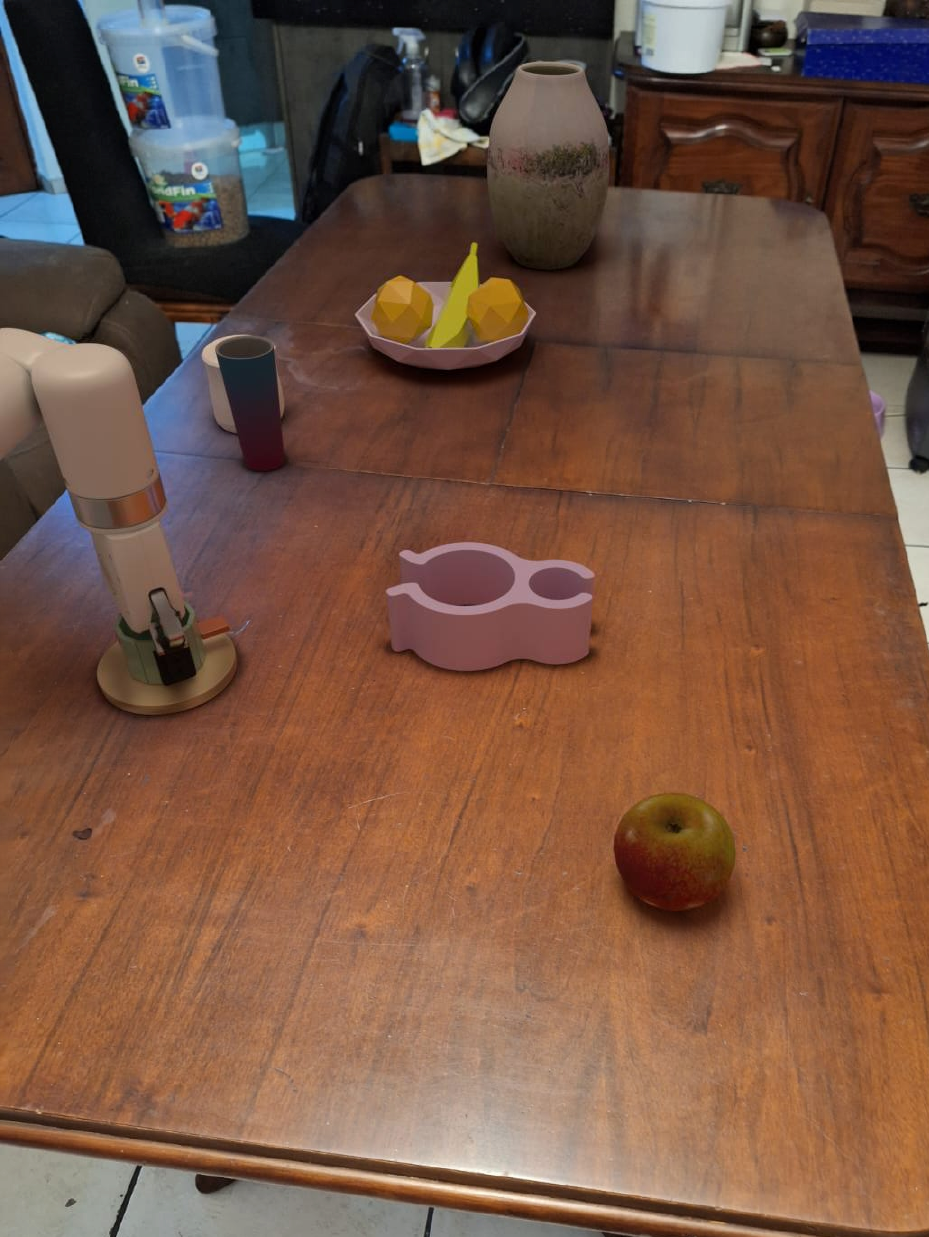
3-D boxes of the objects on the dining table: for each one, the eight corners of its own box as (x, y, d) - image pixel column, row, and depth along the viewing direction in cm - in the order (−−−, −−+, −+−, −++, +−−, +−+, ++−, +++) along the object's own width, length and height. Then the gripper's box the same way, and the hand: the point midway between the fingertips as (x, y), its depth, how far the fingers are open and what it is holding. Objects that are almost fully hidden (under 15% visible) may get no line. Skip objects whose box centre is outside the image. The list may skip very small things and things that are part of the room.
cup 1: (282, 398, 144) (271, 330, 137) (291, 431, 137) (280, 360, 130) (212, 406, 142) (197, 337, 135) (218, 440, 135) (203, 368, 128)
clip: (593, 605, 110) (596, 551, 105) (586, 680, 101) (589, 624, 96) (409, 592, 111) (404, 537, 106) (385, 665, 102) (379, 608, 97)
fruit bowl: (472, 405, 144) (470, 325, 136) (324, 359, 154) (314, 282, 146) (573, 339, 161) (576, 264, 154) (434, 301, 171) (430, 230, 164)
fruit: (589, 893, 81) (594, 827, 76) (641, 821, 87) (650, 755, 82) (698, 948, 78) (712, 882, 72) (745, 869, 84) (761, 803, 78)
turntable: (123, 733, 94) (120, 723, 93) (83, 657, 101) (80, 647, 101) (258, 684, 99) (255, 674, 98) (209, 615, 107) (207, 606, 106)
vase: (620, 250, 192) (634, 63, 171) (577, 287, 178) (585, 88, 157) (518, 232, 198) (519, 50, 178) (468, 267, 184) (462, 73, 163)
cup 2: (267, 480, 127) (246, 363, 117) (226, 465, 130) (202, 350, 120) (303, 457, 132) (285, 343, 122) (262, 443, 134) (242, 330, 124)
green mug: (141, 694, 96) (128, 652, 92) (118, 652, 100) (104, 611, 97) (243, 658, 100) (233, 617, 97) (216, 620, 104) (206, 579, 101)
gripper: (46, 464, 91) (100, 623, 103) (104, 558, 80) (157, 722, 92) (130, 443, 94) (173, 599, 106) (196, 530, 83) (236, 693, 95)
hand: (165, 655), depth 99 cm, fingers closed on green mug, 7 cm apart
